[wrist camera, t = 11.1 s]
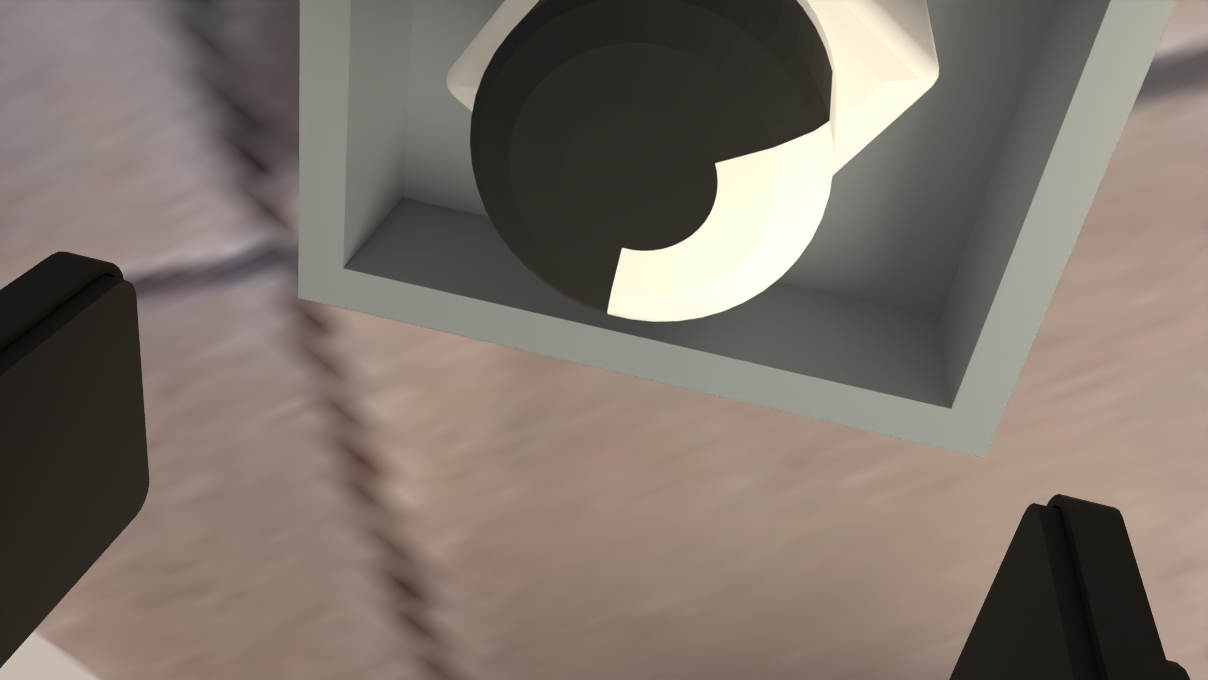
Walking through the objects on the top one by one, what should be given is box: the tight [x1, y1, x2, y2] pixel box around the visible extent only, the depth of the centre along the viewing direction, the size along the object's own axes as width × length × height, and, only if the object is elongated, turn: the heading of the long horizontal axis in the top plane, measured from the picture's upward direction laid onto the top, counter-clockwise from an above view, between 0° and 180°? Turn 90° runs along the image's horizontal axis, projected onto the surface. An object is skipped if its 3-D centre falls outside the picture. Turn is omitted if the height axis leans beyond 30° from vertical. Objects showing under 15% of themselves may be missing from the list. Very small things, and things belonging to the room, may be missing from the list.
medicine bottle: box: [446, 0, 939, 322], centre depth 23 cm, size 7×7×12 cm
